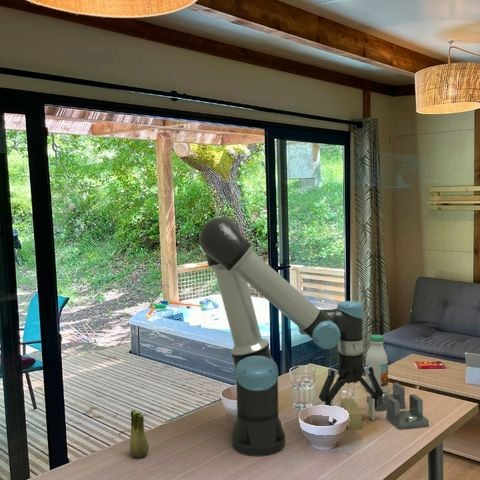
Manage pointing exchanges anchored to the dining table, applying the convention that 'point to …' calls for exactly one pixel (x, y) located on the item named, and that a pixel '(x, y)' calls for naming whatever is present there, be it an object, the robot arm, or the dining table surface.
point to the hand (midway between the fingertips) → (351, 420)
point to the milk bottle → (378, 362)
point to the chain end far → (397, 394)
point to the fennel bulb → (138, 435)
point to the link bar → (352, 414)
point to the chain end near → (406, 413)
